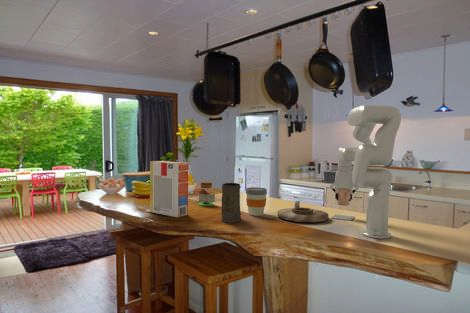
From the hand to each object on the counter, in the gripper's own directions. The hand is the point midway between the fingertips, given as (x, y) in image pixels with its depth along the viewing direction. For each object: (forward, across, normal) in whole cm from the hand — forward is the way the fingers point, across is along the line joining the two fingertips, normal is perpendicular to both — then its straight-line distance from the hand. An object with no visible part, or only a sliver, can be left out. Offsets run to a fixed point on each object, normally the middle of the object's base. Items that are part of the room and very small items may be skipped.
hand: (343, 200), depth 191 cm
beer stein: (+10, +58, +29) cm, 65 cm away
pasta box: (+11, +97, +27) cm, 101 cm away
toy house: (+11, +88, -7) cm, 89 cm away
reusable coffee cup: (+11, +49, +9) cm, 51 cm away
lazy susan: (+10, +22, +10) cm, 26 cm away
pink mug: (+2, -1, +1) cm, 3 cm away
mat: (+10, 0, 0) cm, 10 cm away
